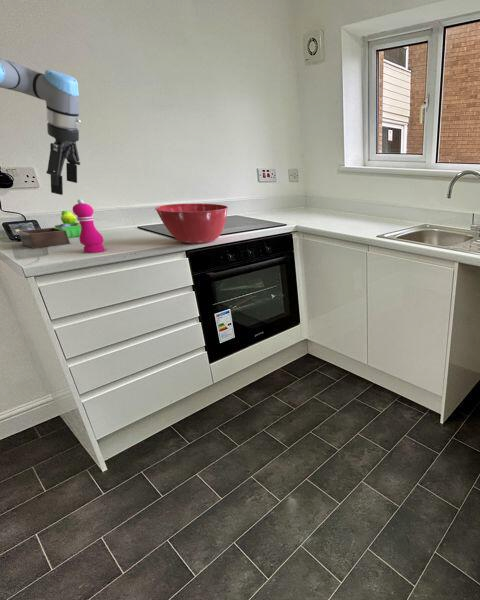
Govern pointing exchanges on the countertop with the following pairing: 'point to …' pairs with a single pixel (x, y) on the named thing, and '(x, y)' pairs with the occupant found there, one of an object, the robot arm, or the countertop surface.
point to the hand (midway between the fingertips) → (64, 187)
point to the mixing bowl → (194, 221)
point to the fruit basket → (69, 224)
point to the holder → (43, 237)
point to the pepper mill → (88, 228)
